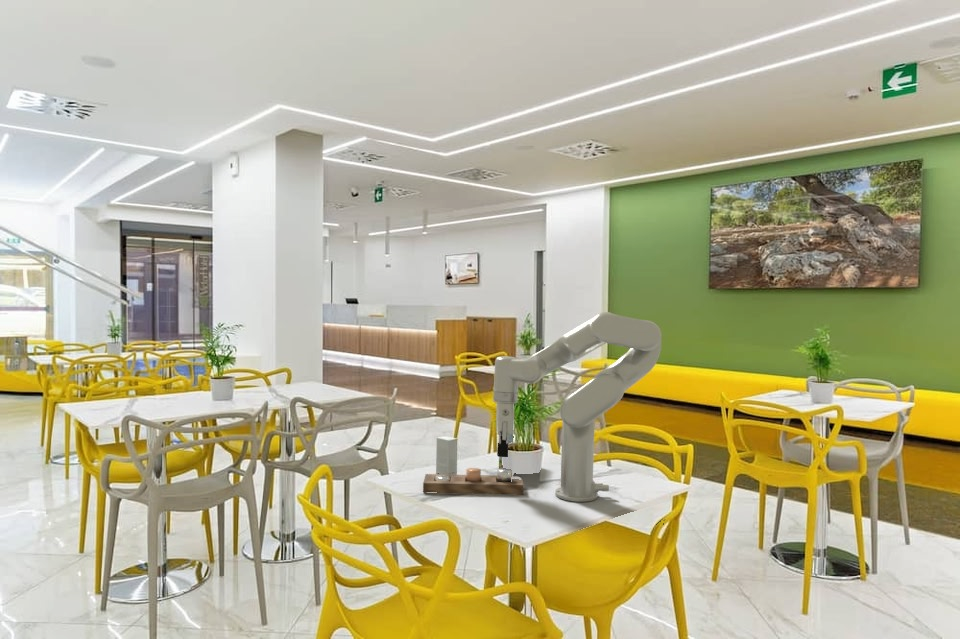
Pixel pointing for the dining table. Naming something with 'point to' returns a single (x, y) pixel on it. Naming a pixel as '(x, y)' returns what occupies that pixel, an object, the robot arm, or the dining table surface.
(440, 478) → the steel knob
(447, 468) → the skincare box
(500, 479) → the steel knob
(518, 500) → the dining table surface
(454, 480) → the walnut mount
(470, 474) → the peach knob
